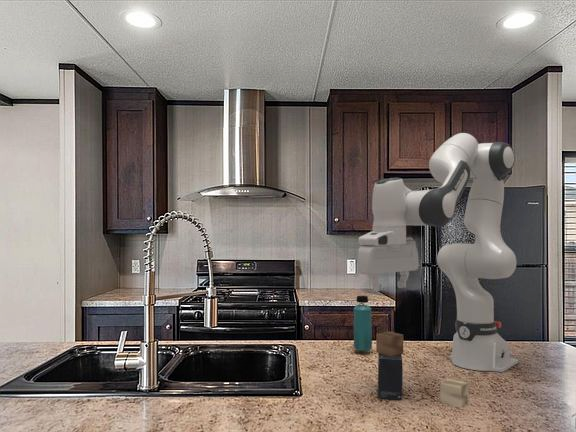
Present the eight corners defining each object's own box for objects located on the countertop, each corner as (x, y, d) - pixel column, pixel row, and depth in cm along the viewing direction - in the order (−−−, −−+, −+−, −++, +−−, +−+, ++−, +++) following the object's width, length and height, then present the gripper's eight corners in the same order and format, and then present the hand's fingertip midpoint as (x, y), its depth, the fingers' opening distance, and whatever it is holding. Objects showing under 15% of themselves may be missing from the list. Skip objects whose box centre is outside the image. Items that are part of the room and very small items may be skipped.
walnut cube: (389, 349, 126) (389, 331, 126) (403, 353, 122) (403, 334, 122) (376, 352, 123) (376, 333, 123) (390, 356, 119) (390, 337, 119)
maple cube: (447, 397, 118) (447, 378, 119) (467, 402, 115) (467, 382, 115) (440, 403, 115) (440, 383, 115) (460, 408, 111) (460, 387, 112)
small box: (403, 401, 116) (403, 359, 116) (377, 399, 117) (377, 357, 118) (401, 387, 126) (401, 348, 127) (377, 385, 128) (377, 347, 128)
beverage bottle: (373, 355, 158) (373, 297, 159) (354, 355, 158) (354, 297, 159) (370, 350, 165) (370, 294, 165) (352, 350, 165) (352, 294, 165)
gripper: (406, 236, 132) (406, 285, 131) (353, 238, 120) (354, 291, 120) (423, 237, 126) (424, 287, 126) (370, 238, 115) (371, 294, 114)
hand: (389, 289), depth 123 cm, fingers open, 8 cm apart
